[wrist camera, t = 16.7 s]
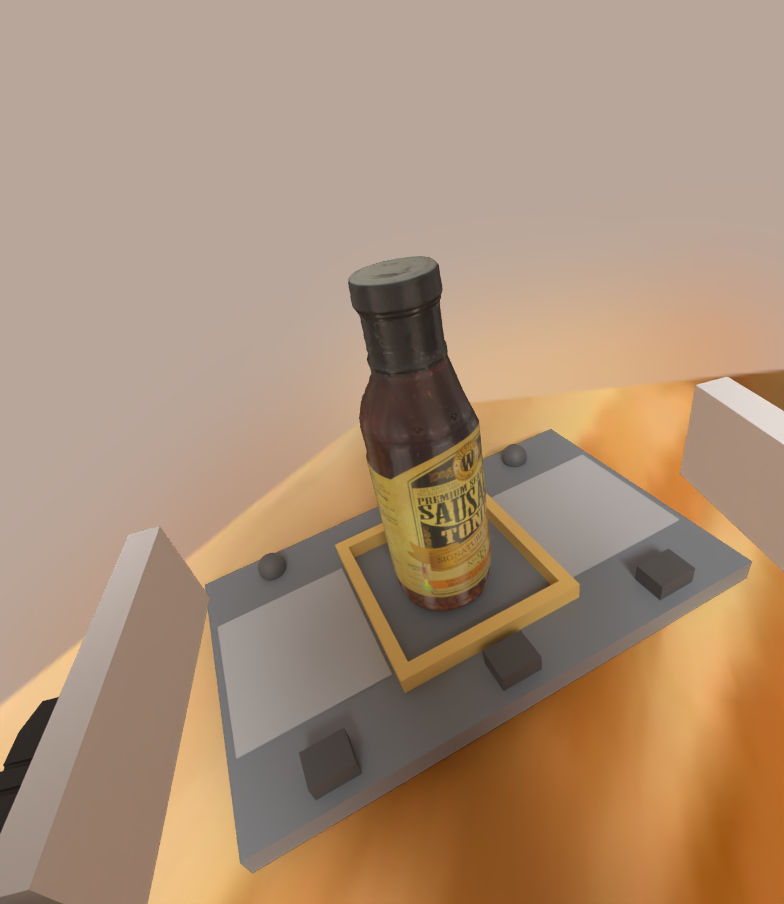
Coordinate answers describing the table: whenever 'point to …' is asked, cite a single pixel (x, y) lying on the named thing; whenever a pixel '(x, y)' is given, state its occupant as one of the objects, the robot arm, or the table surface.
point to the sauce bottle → (421, 437)
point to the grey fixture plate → (436, 637)
